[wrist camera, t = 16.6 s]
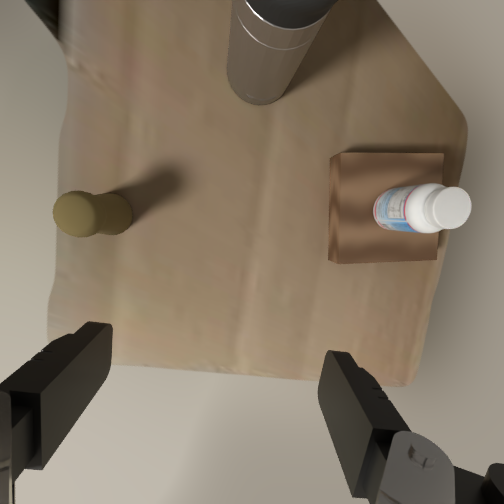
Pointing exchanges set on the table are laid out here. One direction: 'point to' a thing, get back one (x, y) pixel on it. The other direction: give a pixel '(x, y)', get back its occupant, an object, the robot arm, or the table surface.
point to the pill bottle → (422, 208)
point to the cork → (92, 214)
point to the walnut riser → (362, 202)
